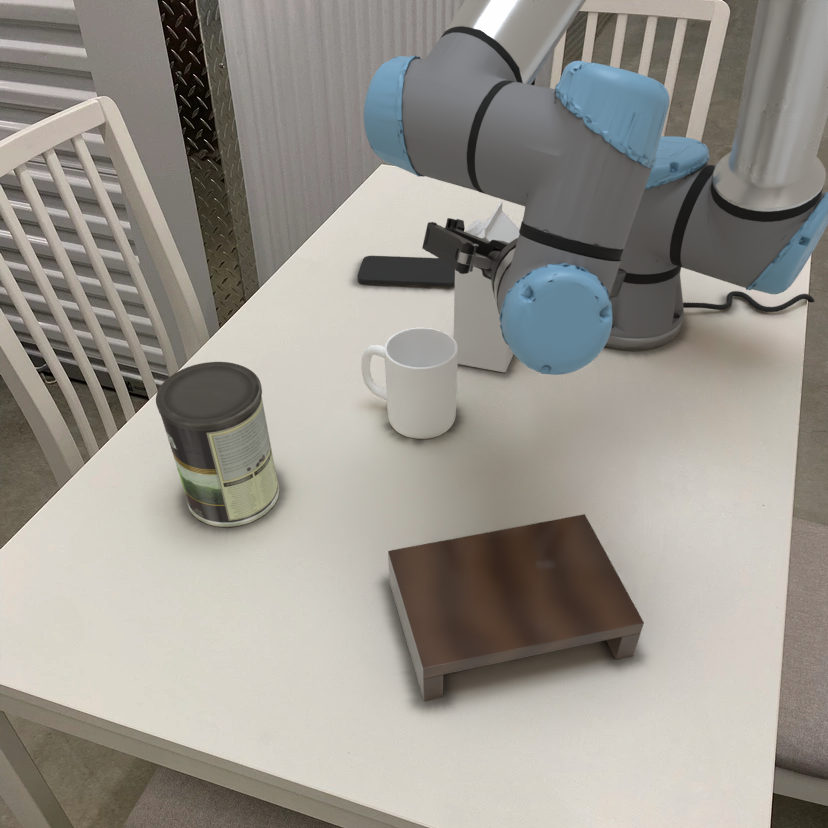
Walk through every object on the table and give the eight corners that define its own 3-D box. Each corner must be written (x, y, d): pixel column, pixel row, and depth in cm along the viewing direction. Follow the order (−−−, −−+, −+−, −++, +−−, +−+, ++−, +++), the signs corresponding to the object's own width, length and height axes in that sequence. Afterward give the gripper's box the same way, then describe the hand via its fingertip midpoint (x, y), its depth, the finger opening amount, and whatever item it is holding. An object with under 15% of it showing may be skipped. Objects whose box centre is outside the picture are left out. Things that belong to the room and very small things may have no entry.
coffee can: (182, 531, 87) (148, 427, 77) (192, 467, 94) (162, 364, 84) (279, 524, 88) (258, 420, 77) (281, 461, 95) (263, 357, 84)
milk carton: (518, 344, 110) (531, 204, 96) (505, 374, 105) (516, 232, 91) (467, 335, 112) (472, 197, 98) (452, 364, 107) (455, 223, 93)
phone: (364, 254, 126) (461, 258, 124) (364, 260, 126) (461, 263, 125) (355, 279, 121) (457, 283, 119) (356, 284, 121) (457, 288, 120)
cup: (439, 448, 96) (439, 375, 88) (348, 422, 99) (342, 350, 92) (466, 408, 101) (469, 336, 93) (379, 384, 104) (375, 314, 97)
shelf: (578, 548, 85) (584, 513, 81) (633, 655, 75) (644, 622, 72) (389, 584, 82) (387, 550, 78) (423, 701, 72) (423, 669, 69)
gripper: (384, 295, 70) (397, 256, 89) (661, 361, 72) (617, 309, 90) (403, 202, 66) (413, 182, 85) (694, 275, 68) (641, 239, 87)
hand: (518, 248), depth 88 cm, fingers open, 13 cm apart
